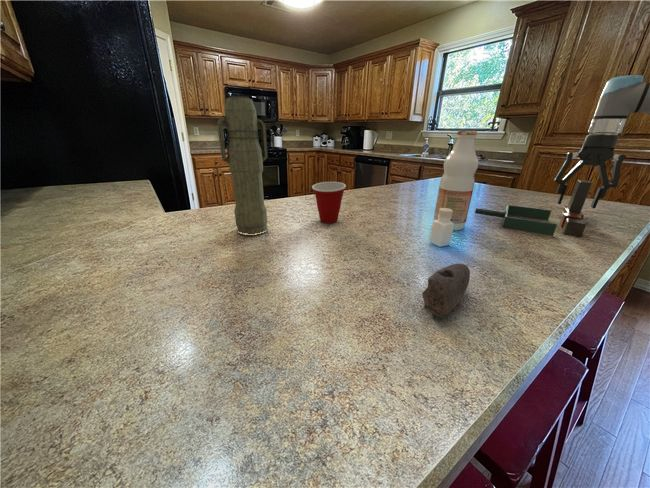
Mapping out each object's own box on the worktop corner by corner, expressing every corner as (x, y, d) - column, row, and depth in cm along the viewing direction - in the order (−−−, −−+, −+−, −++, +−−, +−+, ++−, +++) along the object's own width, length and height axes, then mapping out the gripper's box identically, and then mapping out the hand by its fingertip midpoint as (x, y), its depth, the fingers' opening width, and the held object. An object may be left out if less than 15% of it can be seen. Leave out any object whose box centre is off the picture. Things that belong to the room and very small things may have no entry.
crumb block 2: (578, 233, 81) (583, 220, 79) (581, 237, 78) (586, 224, 76) (561, 230, 83) (566, 218, 81) (563, 234, 80) (568, 221, 78)
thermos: (277, 231, 79) (269, 97, 65) (237, 239, 73) (219, 93, 59) (266, 223, 86) (256, 100, 72) (228, 230, 80) (210, 96, 66)
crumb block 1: (575, 226, 86) (579, 214, 85) (577, 230, 83) (582, 217, 82) (559, 224, 88) (563, 212, 87) (560, 227, 85) (565, 215, 84)
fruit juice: (426, 223, 87) (441, 130, 76) (447, 219, 91) (464, 130, 80) (449, 232, 80) (470, 130, 69) (471, 228, 83) (494, 131, 72)
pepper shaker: (438, 240, 74) (445, 206, 71) (450, 245, 71) (458, 210, 67) (428, 242, 73) (434, 208, 69) (439, 247, 69) (446, 212, 66)
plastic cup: (305, 221, 88) (304, 184, 83) (326, 214, 96) (326, 180, 91) (330, 228, 82) (331, 189, 77) (351, 220, 89) (353, 184, 85)
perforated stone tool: (448, 281, 54) (455, 249, 51) (476, 291, 51) (485, 258, 48) (411, 313, 44) (417, 277, 42) (442, 329, 41) (451, 290, 38)
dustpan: (547, 220, 92) (551, 210, 91) (553, 235, 78) (557, 224, 77) (477, 209, 103) (479, 200, 102) (471, 221, 89) (473, 211, 88)
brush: (574, 215, 98) (589, 179, 93) (580, 224, 89) (596, 184, 83) (560, 213, 100) (574, 178, 95) (565, 221, 91) (580, 183, 85)
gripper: (647, 134, 81) (614, 207, 90) (558, 133, 92) (537, 198, 101) (657, 135, 75) (621, 212, 84) (561, 133, 86) (538, 202, 95)
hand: (575, 205), depth 92 cm, fingers open, 8 cm apart
